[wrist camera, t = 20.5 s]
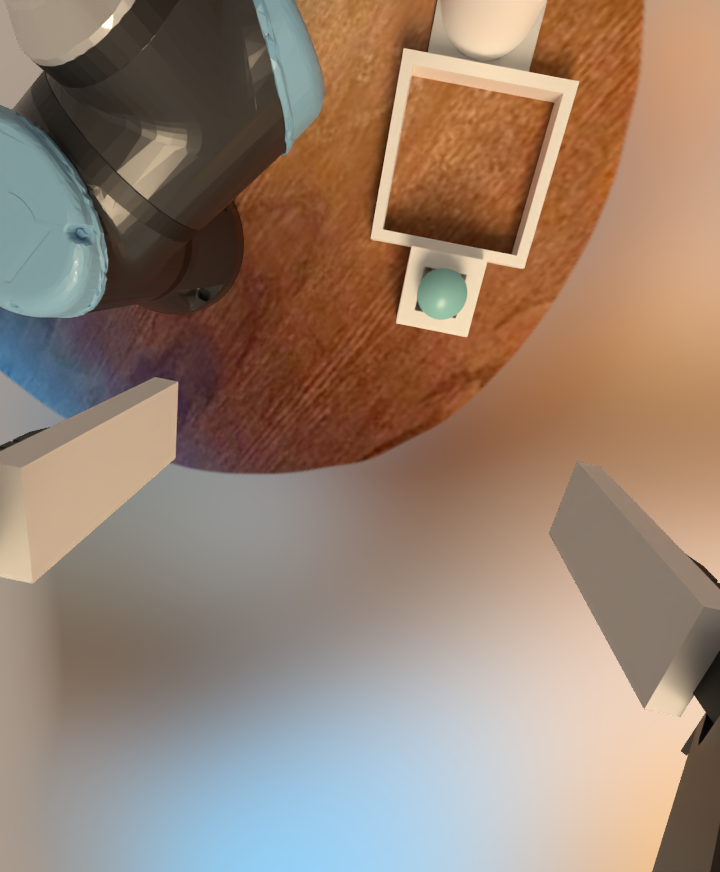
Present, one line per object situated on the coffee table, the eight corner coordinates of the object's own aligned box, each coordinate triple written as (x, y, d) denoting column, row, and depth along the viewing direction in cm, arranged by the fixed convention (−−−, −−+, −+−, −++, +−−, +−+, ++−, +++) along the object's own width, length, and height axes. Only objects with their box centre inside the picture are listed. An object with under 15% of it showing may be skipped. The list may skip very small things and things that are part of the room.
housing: (359, 309, 49) (355, 315, 44) (403, 60, 41) (403, 34, 36) (497, 337, 49) (508, 345, 44) (569, 91, 41) (590, 70, 36)
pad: (426, 57, 41) (427, 55, 40) (452, -77, 38) (453, -81, 37) (526, 76, 41) (528, 74, 40) (560, -56, 37) (562, -60, 37)
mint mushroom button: (411, 309, 46) (412, 314, 42) (421, 263, 45) (423, 263, 40) (454, 317, 46) (460, 323, 42) (465, 272, 45) (473, 273, 40)
